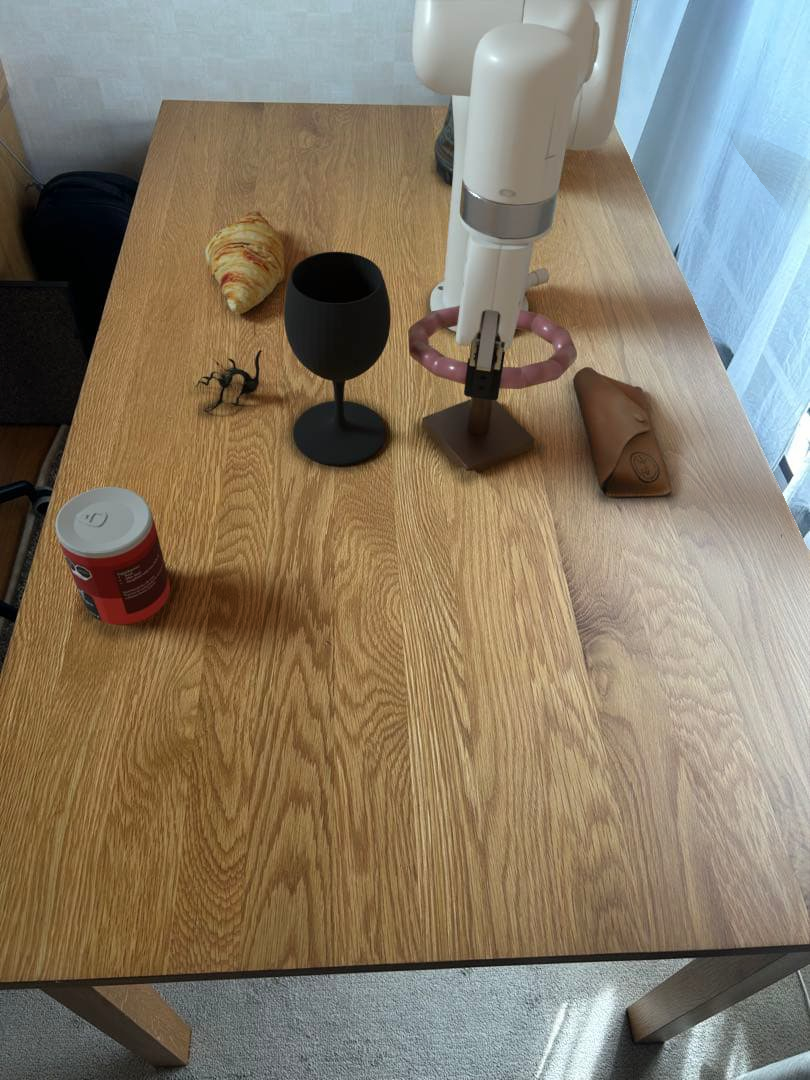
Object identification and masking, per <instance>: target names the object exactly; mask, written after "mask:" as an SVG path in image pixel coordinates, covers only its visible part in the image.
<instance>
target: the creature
mask: <svg viewBox="0 0 810 1080" xmlns="http://www.w3.org/2000/svg"><path fill="white" fill-rule="evenodd" d="M262 352H263V350H262V349H260V350H258V352H257V354H256V355H255V358H254V366H255V375H254V377H253V378H252V376H251V375H250V373H249V372H248V371H245V370H243V369H241V368H237V367H236V362H235V360H234V359H232V358H227V360H228V361H229V362H230V363H231V364H232V367H229V368H228V369H225V368H224V367H223V366H222V365H221V364H220V363H219V362H217V360H215V359H213V361H214V362H215V364H216V365H217V366H218V369H219V371H220V373H219V372H218V371H211V373H210V374H209V376H204V375H203V376H202V377H201V378H200V379H199V380H198V382H197V384H196V386H195V388H197V387H198V386H199V385H200V384H202V385H204V386H205V387H207V386H209V385H210V382H211V380H213V379H215V380H216V381H217V382H218V383H219V385H220V387H221V389H220V391H219V397H218V400H217V401H216V402H214V403H212V404H210V405H208V406H205V408H204V409H203V411H204V412H205V413H208V412H212V411H213V410H215V409H216V408H217V407H219V406H220V405H221V404H222V403H223V404H225V405H230V404H231V405H233V406H239V404H240V402H239V401H240V398H241V397H242V395H245V394H246V396H249V394H251V393H254V392H255V391H257V389H258V386H259V383H260V378H259V377H260V363H259V361H260V356H261V353H262ZM220 367H221V368H222V369H223V370H224V373H223V371H222V370H221V368H220ZM227 372H228V375H225V374H226V373H227ZM214 374H218V375H219V376H220V377H218V378H217V377H215V376H214ZM235 375H240V376H242V378H243V382H242V383H240V382H237V384H239V385H240V386H241V387H242V388H241V390H240V393H239V395H237V397H236V398H235V402H228V403H225V402H223V397H224V391H225V389H227V388H229V387H230V386H232V385H233V383H231V382H232V381H233V377H234V376H235ZM202 379H205V380H207V381H206V382H205V381H203V380H202ZM213 405H214V406H213ZM211 406H213V407H212V408H210V409H209V410H206V409H207V408H208V407H211Z"/></svg>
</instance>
